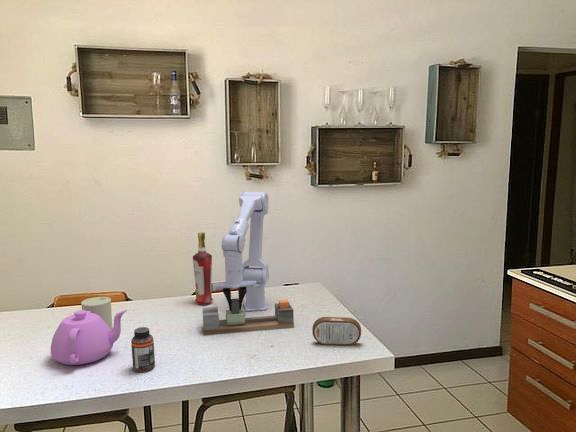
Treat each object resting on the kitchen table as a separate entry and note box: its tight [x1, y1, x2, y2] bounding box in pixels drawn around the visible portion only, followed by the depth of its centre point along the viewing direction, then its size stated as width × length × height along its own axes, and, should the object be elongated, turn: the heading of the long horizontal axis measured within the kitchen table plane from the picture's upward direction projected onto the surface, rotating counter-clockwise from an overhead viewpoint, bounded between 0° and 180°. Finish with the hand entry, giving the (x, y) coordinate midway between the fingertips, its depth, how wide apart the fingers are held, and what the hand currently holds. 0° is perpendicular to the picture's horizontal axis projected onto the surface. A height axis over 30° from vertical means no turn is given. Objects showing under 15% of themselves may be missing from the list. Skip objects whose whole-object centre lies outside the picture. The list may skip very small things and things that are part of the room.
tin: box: [311, 316, 362, 346], centre depth 151 cm, size 15×3×8 cm, turn 84°
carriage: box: [225, 297, 246, 325], centre depth 165 cm, size 6×6×8 cm
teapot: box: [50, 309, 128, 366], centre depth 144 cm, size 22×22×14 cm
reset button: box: [278, 299, 290, 309], centre depth 168 cm, size 3×3×4 cm
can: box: [80, 296, 114, 331], centre depth 161 cm, size 9×9×12 cm
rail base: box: [202, 302, 295, 336], centre depth 167 cm, size 9×30×6 cm, turn 101°
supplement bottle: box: [130, 326, 156, 373], centre depth 136 cm, size 6×6×11 cm
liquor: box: [192, 231, 214, 306], centre depth 190 cm, size 7×7×28 cm
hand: (235, 309), depth 165 cm, fingers closed on carriage, 2 cm apart
